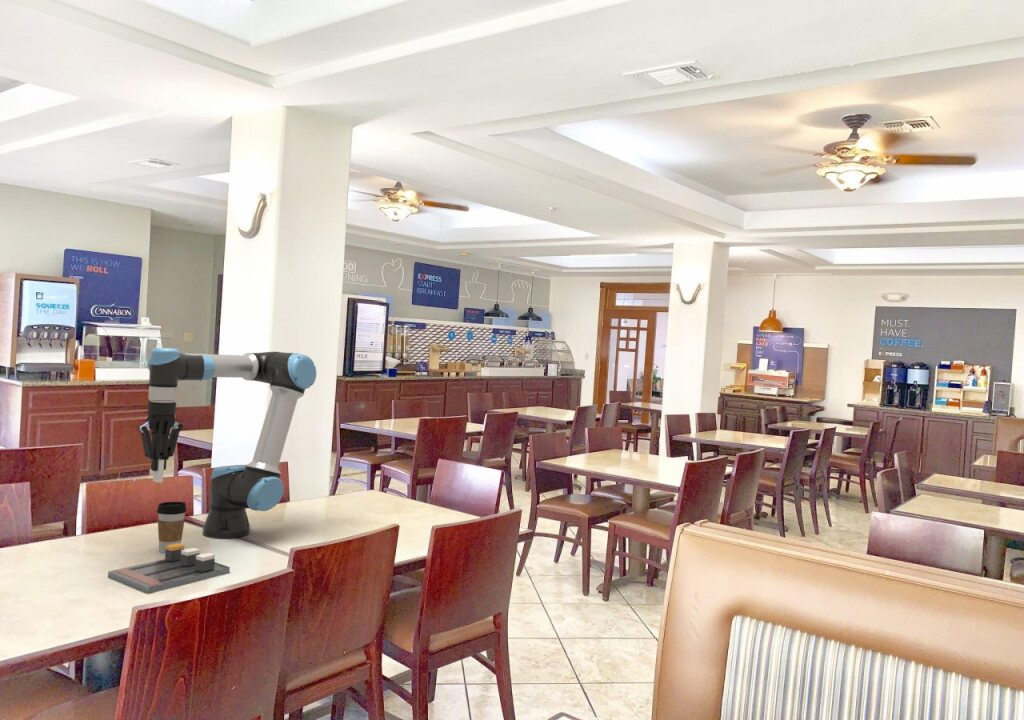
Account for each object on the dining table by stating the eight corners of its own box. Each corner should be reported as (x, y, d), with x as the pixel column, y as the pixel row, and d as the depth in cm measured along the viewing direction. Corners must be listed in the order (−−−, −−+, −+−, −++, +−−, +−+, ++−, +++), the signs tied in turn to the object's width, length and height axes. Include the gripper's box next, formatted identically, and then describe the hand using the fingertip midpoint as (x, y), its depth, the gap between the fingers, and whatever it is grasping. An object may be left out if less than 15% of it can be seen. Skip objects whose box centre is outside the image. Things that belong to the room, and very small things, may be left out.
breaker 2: (207, 566, 219) (208, 552, 219) (214, 568, 217) (215, 554, 217) (195, 569, 215) (196, 555, 215) (201, 571, 214) (202, 557, 214)
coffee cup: (173, 556, 232) (175, 507, 232) (148, 552, 234) (151, 504, 233) (190, 549, 240) (192, 501, 240) (166, 545, 242) (168, 498, 242)
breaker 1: (192, 561, 223) (193, 547, 222) (199, 563, 221) (199, 549, 221) (180, 564, 219) (181, 550, 219) (186, 566, 218) (187, 552, 217)
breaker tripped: (177, 556, 226) (178, 543, 226) (183, 558, 225) (184, 545, 224) (164, 559, 223) (165, 545, 223) (171, 561, 221) (171, 547, 221)
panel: (189, 558, 231) (189, 553, 231) (229, 572, 220) (229, 566, 220) (107, 577, 210) (108, 571, 210) (147, 593, 199) (148, 587, 199)
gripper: (175, 399, 229) (170, 477, 230) (133, 400, 218) (129, 482, 219) (190, 401, 225) (185, 481, 226) (148, 403, 214) (144, 486, 215)
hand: (157, 481), depth 222 cm, fingers closed
